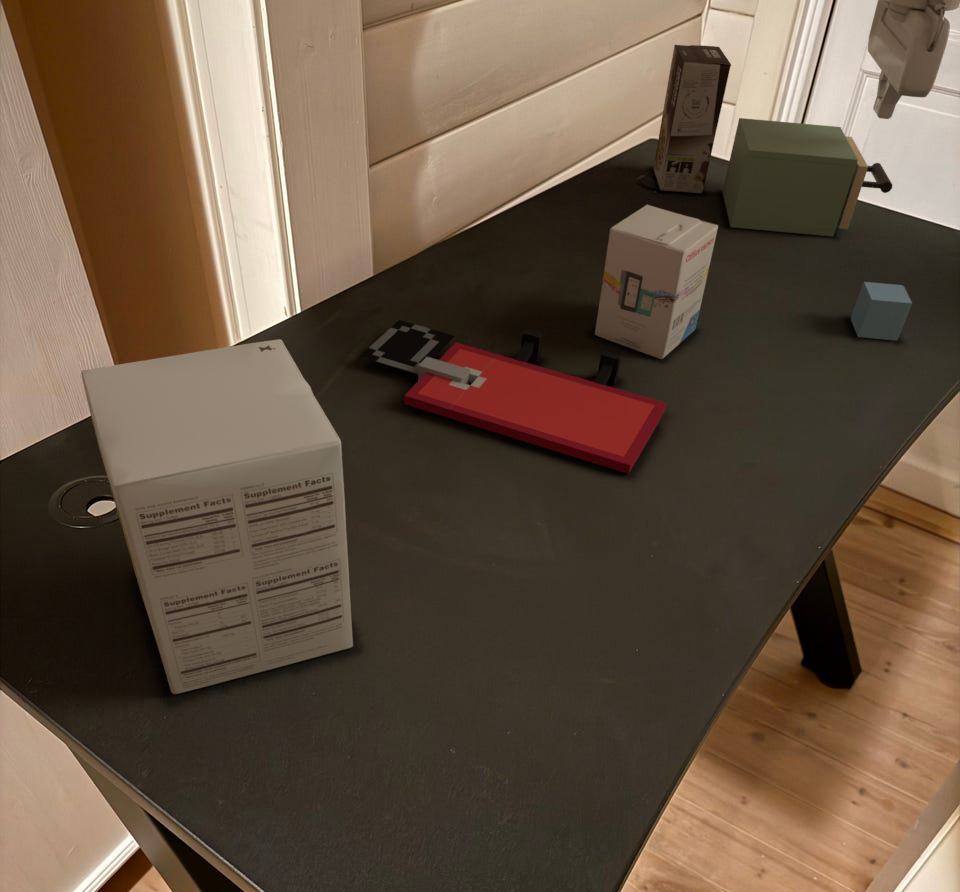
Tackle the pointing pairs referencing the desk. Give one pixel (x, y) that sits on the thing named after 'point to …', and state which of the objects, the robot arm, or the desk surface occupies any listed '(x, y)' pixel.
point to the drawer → (861, 184)
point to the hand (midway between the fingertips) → (881, 115)
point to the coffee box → (690, 117)
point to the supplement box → (227, 508)
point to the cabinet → (788, 177)
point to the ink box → (654, 280)
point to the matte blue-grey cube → (880, 311)
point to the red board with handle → (523, 395)
